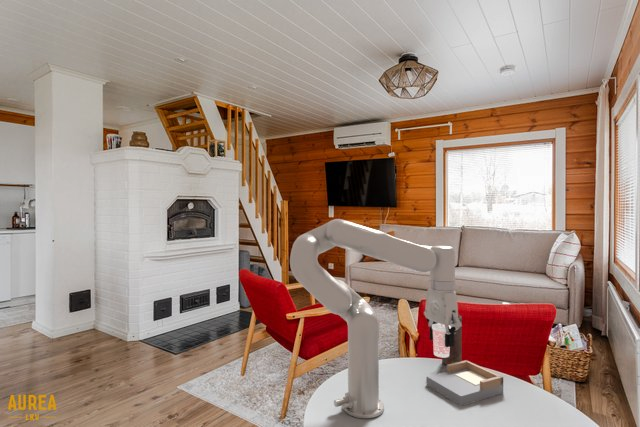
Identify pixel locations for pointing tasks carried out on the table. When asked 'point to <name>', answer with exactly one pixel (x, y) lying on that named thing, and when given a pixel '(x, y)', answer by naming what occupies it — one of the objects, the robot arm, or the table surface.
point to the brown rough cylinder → (455, 347)
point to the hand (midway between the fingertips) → (441, 342)
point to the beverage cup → (440, 341)
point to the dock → (466, 383)
